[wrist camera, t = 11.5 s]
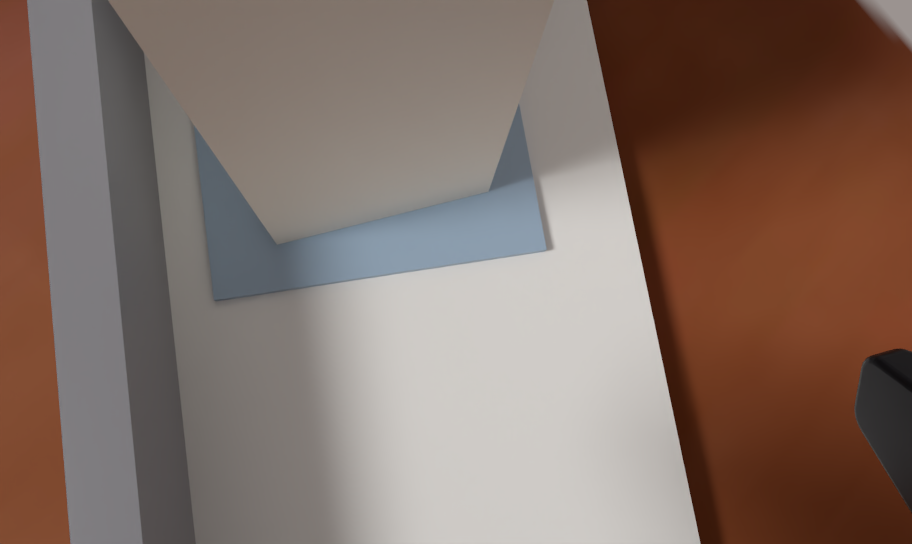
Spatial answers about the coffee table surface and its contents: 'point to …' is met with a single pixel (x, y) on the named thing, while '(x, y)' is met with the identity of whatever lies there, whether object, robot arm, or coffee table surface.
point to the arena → (347, 329)
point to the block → (345, 97)
